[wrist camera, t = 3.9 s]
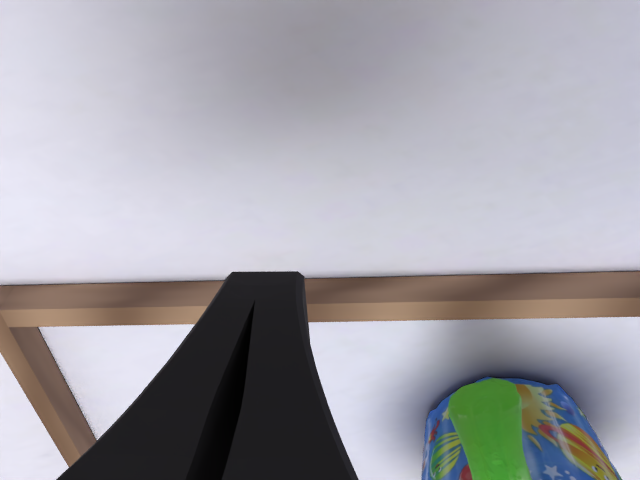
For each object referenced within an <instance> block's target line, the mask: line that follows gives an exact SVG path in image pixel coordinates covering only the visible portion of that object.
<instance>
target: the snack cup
mask: <svg viewBox="0 0 640 480" xmlns="http://www.w3.org/2000/svg"><path fill="white" fill-rule="evenodd" d="M422 480H622V479H621V477H620V475H619V473H618V472H617V470H616V468H615V467H614V466H613V464H612V463H611V462H610V460H609V458H608V454H607V452H606V451H605V449H604V447H603V446H602V444H601V442H600V440H599V439H598V437H597V435H596V433H595V432H594V430H593V429H592V428H591V426H590V425H589V423H588V421H587V419H586V417H585V415H584V414H583V413H582V411H581V410H580V408H579V407H578V406H577V405H576V404H575V402H574V401H573V399H572V398H571V397H570V396H569V395H568V394H567V393H565V391H564V390H563V389H562V388H561V387H560V386H559V385H557V384H551V385H545V384H543V383H539V382H535V381H530V380H526V379H521V378H492V377H485V378H483V379H480V380H477V381H476V382H475V383H472V384H468V385H465V386H463V387H461V388H460V389H458V390H457V391H456V392H454V393H452V394H451V395H450V396H448V397H447V398H445V399H444V400H442V401H441V403H440V404H439V405H438V407H437V408H436V409H435V410H432V411H430V412H429V415H428V418H427V420H426V429H425V443H424V448H423V463H422Z"/></svg>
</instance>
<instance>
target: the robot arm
mask: <svg viewBox="0 0 640 480" xmlns="http://www.w3.org/2000/svg"><path fill="white" fill-rule="evenodd" d="M56 480H358V477H357V475H356V473H355V471H354V468H353V466H352V464H351V461H350V459H349V457H348V455H347V452H346V450H345V447H344V445H343V443H342V440H341V438H340V435H339V433H338V430H337V428H336V425H335V422H334V420H333V417H332V414H331V412H330V409H329V406H328V403H327V400H326V397H325V394H324V391H323V388H322V385H321V382H320V379H319V376H318V372H317V369H316V366H315V362H314V358H313V354H312V350H311V346H310V337H309V326H308V314H307V303H306V292H305V281H304V276H303V275H302V274H300V273H299V272H232V273H231V274H230V275H229V276H227V278H226V279H225V281H224V283H223V284H222V286H221V287H220V289H219V290H218V292H217V293H216V295H215V297H214V298H213V300H212V301H211V303H210V304H209V306H208V307H207V308H206V310H205V311H204V313H203V314H202V316H201V317H200V318H199V320H198V321H197V323H196V324H195V326H194V327H193V328H192V330H191V331H190V332H189V334H188V335H187V336H186V338H185V339H184V340H183V342H182V343H181V344H180V346H179V347H178V348H177V350H176V351H175V352H174V354H173V355H172V356H171V358H170V359H169V360H168V361H167V363H166V364H165V365H164V366H163V368H162V369H161V370H160V371H159V372H158V374H157V375H156V376H155V377H154V378H153V380H152V381H151V382H150V383H149V384H148V386H147V387H146V388H145V389H144V390H143V392H142V393H141V394H140V395H139V396H138V398H137V399H136V400H135V401H134V402H133V403H132V404H131V405H130V406H129V408H128V409H127V410H126V411H125V412H124V413H123V414H122V415H121V416H120V417H119V418H118V420H117V421H116V422H115V423H114V424H113V425H112V426H111V427H110V428H109V429H108V430H107V431H106V432H105V433H104V434H103V435H102V436H101V437H100V438H99V439H98V440H97V441H96V442H95V443H94V444H93V445H92V446H91V447H90V448H89V449H88V450H87V451H86V452H85V453H84V454H83V455H82V456H81V457H80V458H79V459H78V460H77V461H76V462H74V463H73V464H72V465H71V466H70V467H69V468H68V469H67V470H66V471H65V472H64V473H63V474H62V475H61V476H60V477H59V478H58V479H56Z"/></svg>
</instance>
